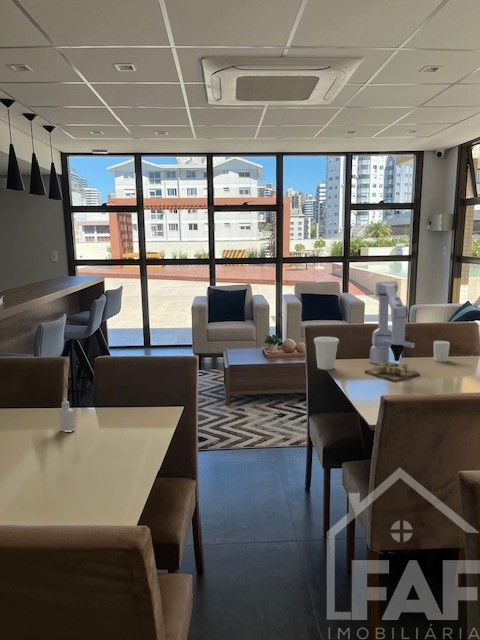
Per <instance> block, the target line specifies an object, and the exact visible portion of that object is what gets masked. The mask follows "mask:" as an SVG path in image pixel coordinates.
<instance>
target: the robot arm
mask: <svg viewBox="0 0 480 640" xmlns="http://www.w3.org/2000/svg"><path fill="white" fill-rule="evenodd" d="M398 290H399V283H398V282H397V280H394V281H393V280H391V281H390V280H389V281H386V280H385V281H383V280H382V281H380V280H378V281H376V284H375V290H374V291H375V297H378V328H375V329H374V331H373V332H372V336H371V344H372V346H371V347H370V351H369V360H368V363H371V364H375V365H377V366H380V361H386V362H388V363H389V362H390V363H393V362H391V361H390V349H391V352H392V354H393V358H394V361H395V362H399V361H400V358H401V355H402V352H403V350H404V349H405V347H406V348H411V349H414V348H415V342H409V341H406V340H405V338H406V337H405V335H406V322H407V321H406V320H407V318H408V316H409V309H408V307H407V305H404V304H403V301H402V299H401V297H399V296H398V295H397V294H398ZM389 308H390V316H391V323H392V324H391V330H390V329H389V328H388V327H389Z"/></svg>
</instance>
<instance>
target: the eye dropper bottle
mask: <svg viewBox="0 0 480 640" xmlns="http://www.w3.org/2000/svg"><path fill="white" fill-rule="evenodd" d="M58 419H59V421H58V422H59V428H61V429H63V430H72V429H75V430H76V424H75V414H74V410H73V409H72V408H70V402H69V401H68V400H67V398H66V397H64V398H63V401H62V402H61V408H60V409H59V410H58Z"/></svg>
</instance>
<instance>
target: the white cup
mask: <svg viewBox="0 0 480 640" xmlns="http://www.w3.org/2000/svg"><path fill="white" fill-rule="evenodd" d="M450 344H451V343H450V342H449V341H446V340H434V341H433V361H434V362H438V363H439V362H440V363H447V362H448V361H449V360H448V358H449V353H450Z"/></svg>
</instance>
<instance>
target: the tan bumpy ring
mask: <svg viewBox="0 0 480 640" xmlns="http://www.w3.org/2000/svg"><path fill="white" fill-rule="evenodd" d="M390 362H391V361H389V363H388V362H386V361H380V365H377V366H376V368H377V370H376V372H378V373H385V372H386V373H391V374H398V375H400V376H401V375H405V370H408V365H409V364H408V363H406V362H400V363H397V362H392V363H390ZM388 364H396V365H397V367H389V366H388Z"/></svg>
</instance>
